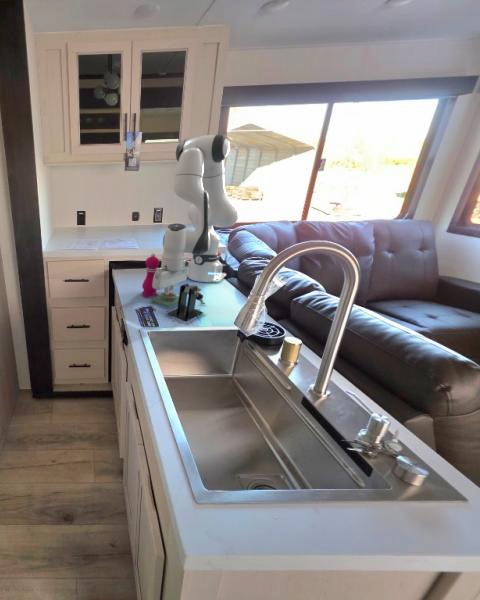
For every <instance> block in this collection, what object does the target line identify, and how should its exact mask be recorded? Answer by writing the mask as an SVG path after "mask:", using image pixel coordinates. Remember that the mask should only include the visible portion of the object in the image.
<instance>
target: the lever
mask: <svg viewBox="0 0 480 600" xmlns="http://www.w3.org/2000/svg"><path fill="white" fill-rule="evenodd" d="M189 289H190V287H187V286H186V287H185V289H184V292H185V293H187V295H189ZM203 298H204V294H203V293H202V292H199V293H197V296H196V301H201V299H202V300H203Z"/></svg>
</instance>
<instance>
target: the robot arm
mask: <svg viewBox="0 0 480 600" xmlns="http://www.w3.org/2000/svg"><path fill="white" fill-rule="evenodd" d="M230 148H231V142H230V138H229V136H227V135H226V134H223V133H217V134H207V135H206V134H205V135H201V136H197V137H193V138H185V139H183V140H181V141H180V142H179V143H178V145H177V146H176V150H175V159H176V162H177V165H176V167H175V168H176V169H175V174H174V178H173V179H174V181H173V190H174V192H175V193H174V194H176V196H178V197H179V198H180V199H182V200H184V201H185V202H187V203H190V204H191V205H190V206H189V207H188V210H187V216H188V219H189V220H190V221H191V223H192V225H193V228H194V230H191V229H187V226H186V225H185V224H183V223H177V222H176V223H171V224H168V225H167V226H166V229H165V233H164V235H163V238H162V248H163V252H162V254H161V262H160V267H157V268H158V269H157V271H156V272H155V274H154V278H153V283H152V287H153V288H154V289H156V291H162V290H164V292H165V295H170V294H172V293H173V291H174V289H175V287H176V285H177V284H179V283H182V282H185V281H187V278H188V279H190V280H191V281H195V282H200V283H215V284H216V283H220V282H221V281H222V280H224V279H225V277H227V273H226V272H225V271H226V270H227V264H224V263H221V261H220V260H219V257H221V256H222V252H219V251H218V250H219V246H220V236H219V235H218V234H217V233H216V232H215V230H214V227H216V228H231V227H232V226H234V225H235V224H236V222H237V221H238V219H239V209H238V208H237V206H236V205H234V204H233V203H232V201H231V200H230V199H229V197H228V195H227V192H226V187H225V164H224V161H225V160H226V158H227V157H228V155H229V153H230V150H231V149H230ZM185 254H191V255H192V259H190V260H187V259H185Z"/></svg>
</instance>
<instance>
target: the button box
mask: <svg viewBox="0 0 480 600" xmlns="http://www.w3.org/2000/svg"><path fill="white" fill-rule="evenodd" d="M164 294H165V291H164V292H161V293H160V294H159V295H158V296H157V295H156V296H155V297H152V298H151V302H153V303H156V304H158V305H161V306H163V307H166V308H169V309H170V308H172V307H174V306H176V305H178V301H179V295H177V294H176V293H174V292H172V294H173V296H172V297H168V296H165V295H164Z"/></svg>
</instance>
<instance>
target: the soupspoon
mask: <svg viewBox="0 0 480 600" xmlns="http://www.w3.org/2000/svg"><path fill="white" fill-rule="evenodd" d="M195 286H197V287H198V290H197V293H200V292H199V291H200V290H202V287H201V286H199V285H196V284H189V287H190V288H193V287H195ZM200 304H201V305H206V302H205V301H204V300H203V298H202V299H201V300H200Z"/></svg>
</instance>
